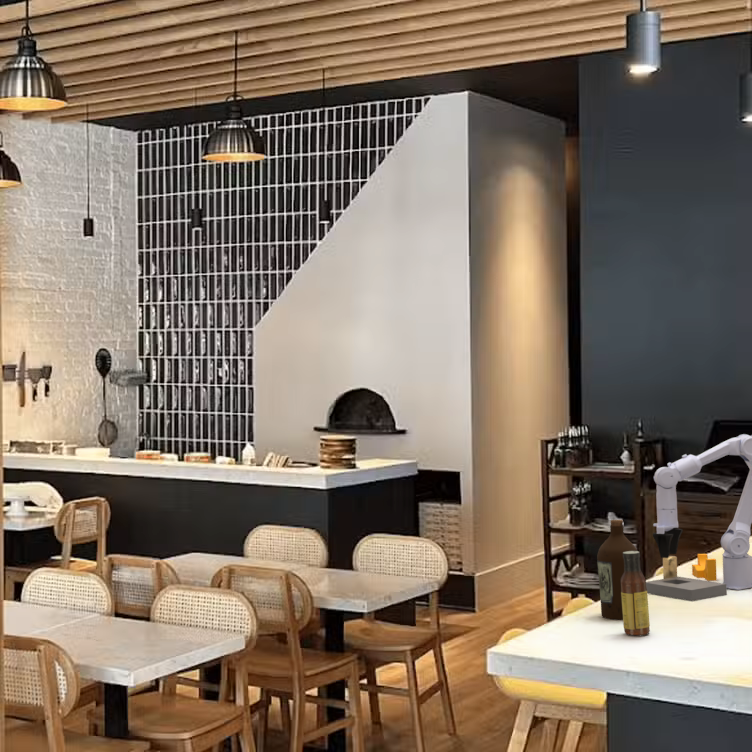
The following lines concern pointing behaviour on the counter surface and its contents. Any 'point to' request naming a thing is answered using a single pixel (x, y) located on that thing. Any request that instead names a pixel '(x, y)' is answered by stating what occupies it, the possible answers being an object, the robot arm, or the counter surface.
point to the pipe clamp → (705, 568)
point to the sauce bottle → (634, 596)
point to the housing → (686, 588)
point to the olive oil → (612, 570)
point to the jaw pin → (670, 567)
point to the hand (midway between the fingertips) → (668, 555)
